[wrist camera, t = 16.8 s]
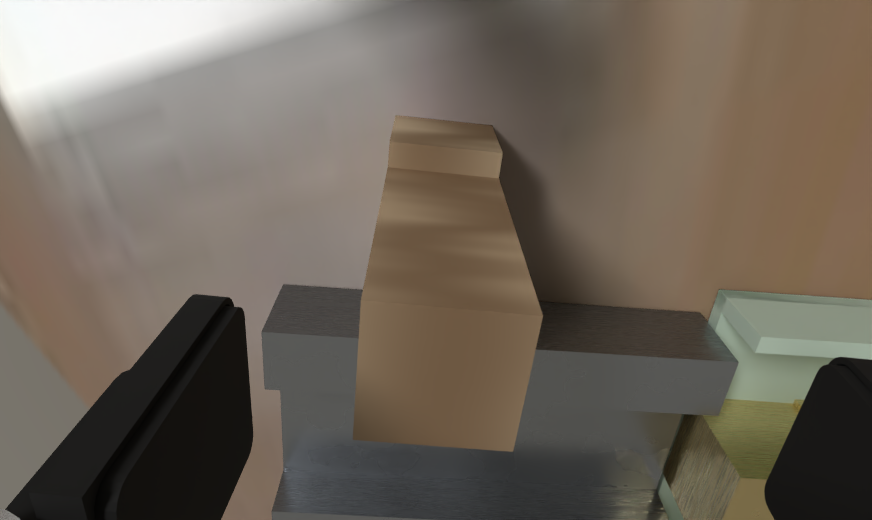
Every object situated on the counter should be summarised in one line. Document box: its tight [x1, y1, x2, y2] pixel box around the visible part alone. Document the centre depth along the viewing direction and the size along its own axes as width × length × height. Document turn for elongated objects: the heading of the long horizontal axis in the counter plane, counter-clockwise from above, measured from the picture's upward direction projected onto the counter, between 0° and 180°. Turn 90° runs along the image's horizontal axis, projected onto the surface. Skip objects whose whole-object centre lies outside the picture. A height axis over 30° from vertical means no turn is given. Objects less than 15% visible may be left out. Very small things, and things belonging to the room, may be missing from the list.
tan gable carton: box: [353, 115, 543, 452], centre depth 15 cm, size 3×4×10 cm
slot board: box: [262, 285, 739, 520], centre depth 22 cm, size 15×10×3 cm, turn 85°
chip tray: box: [656, 289, 872, 520], centre depth 23 cm, size 10×12×3 cm
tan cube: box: [663, 399, 799, 520], centre depth 22 cm, size 4×4×4 cm
